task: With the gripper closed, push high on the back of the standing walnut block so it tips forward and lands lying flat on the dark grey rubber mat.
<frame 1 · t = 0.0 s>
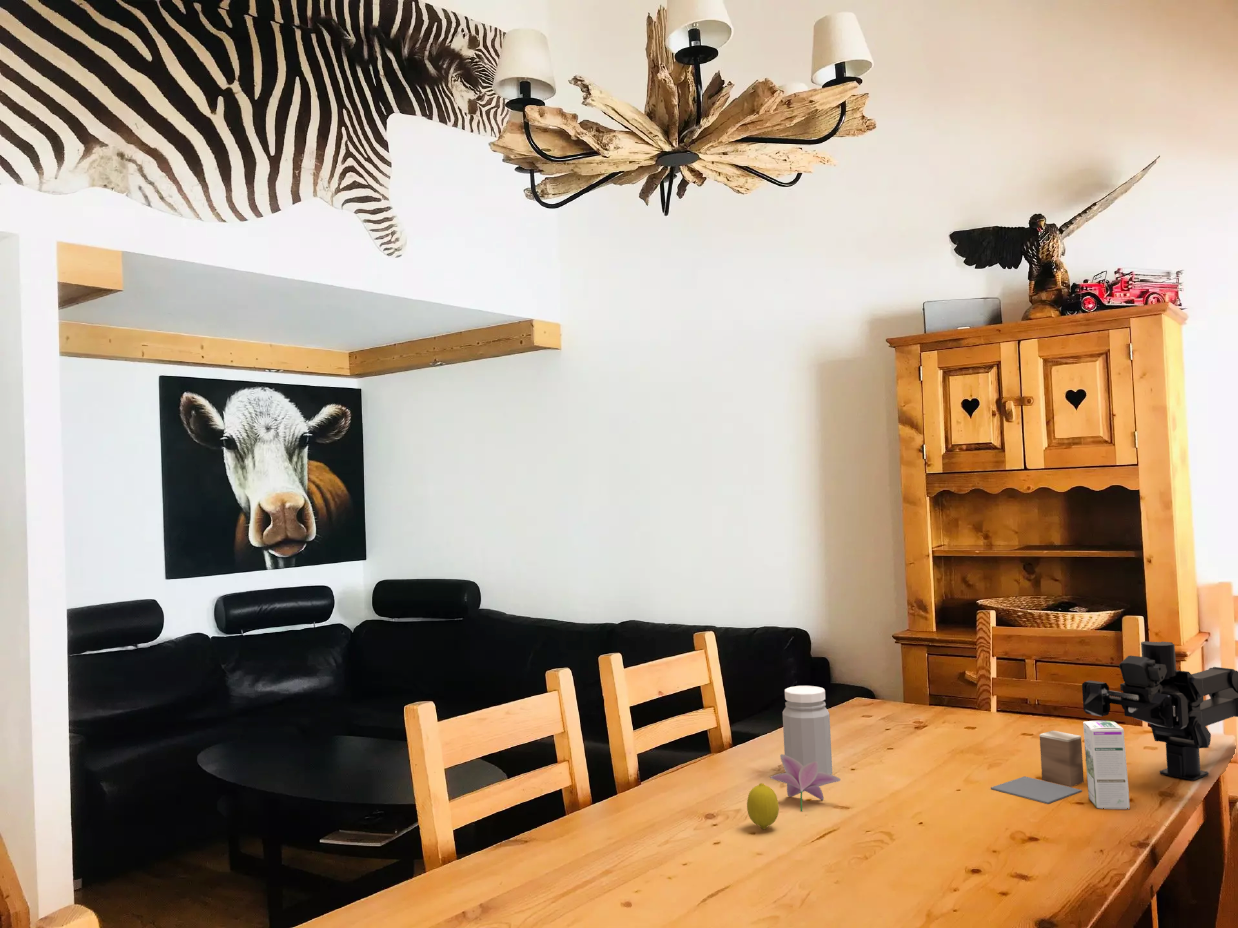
hand: (1108, 710, 177), 17 cm above the table, tool horizontal, fingers open, 9 cm apart
jar: (808, 777, 199), on the table
syrup box: (1108, 805, 175), on the table
rubber mat: (1035, 790, 185), on the table
lemon: (763, 830, 170), on the table
lily: (805, 805, 182), on the table
walnut block: (1062, 781, 190), on the table
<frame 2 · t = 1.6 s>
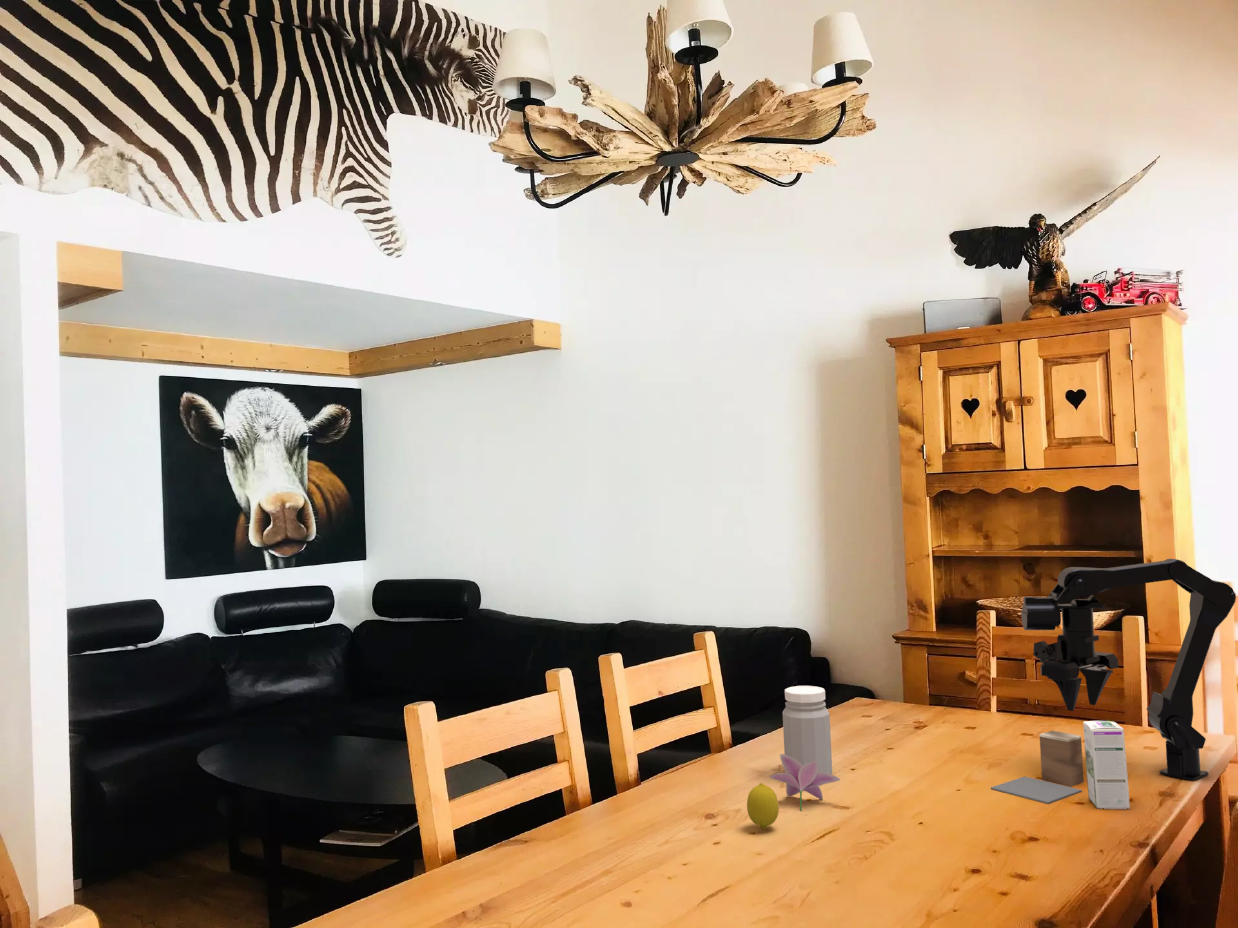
hand: (1081, 707, 194), 13 cm above the table, tool pointing down, fingers open, 8 cm apart
nothing on the table moved.
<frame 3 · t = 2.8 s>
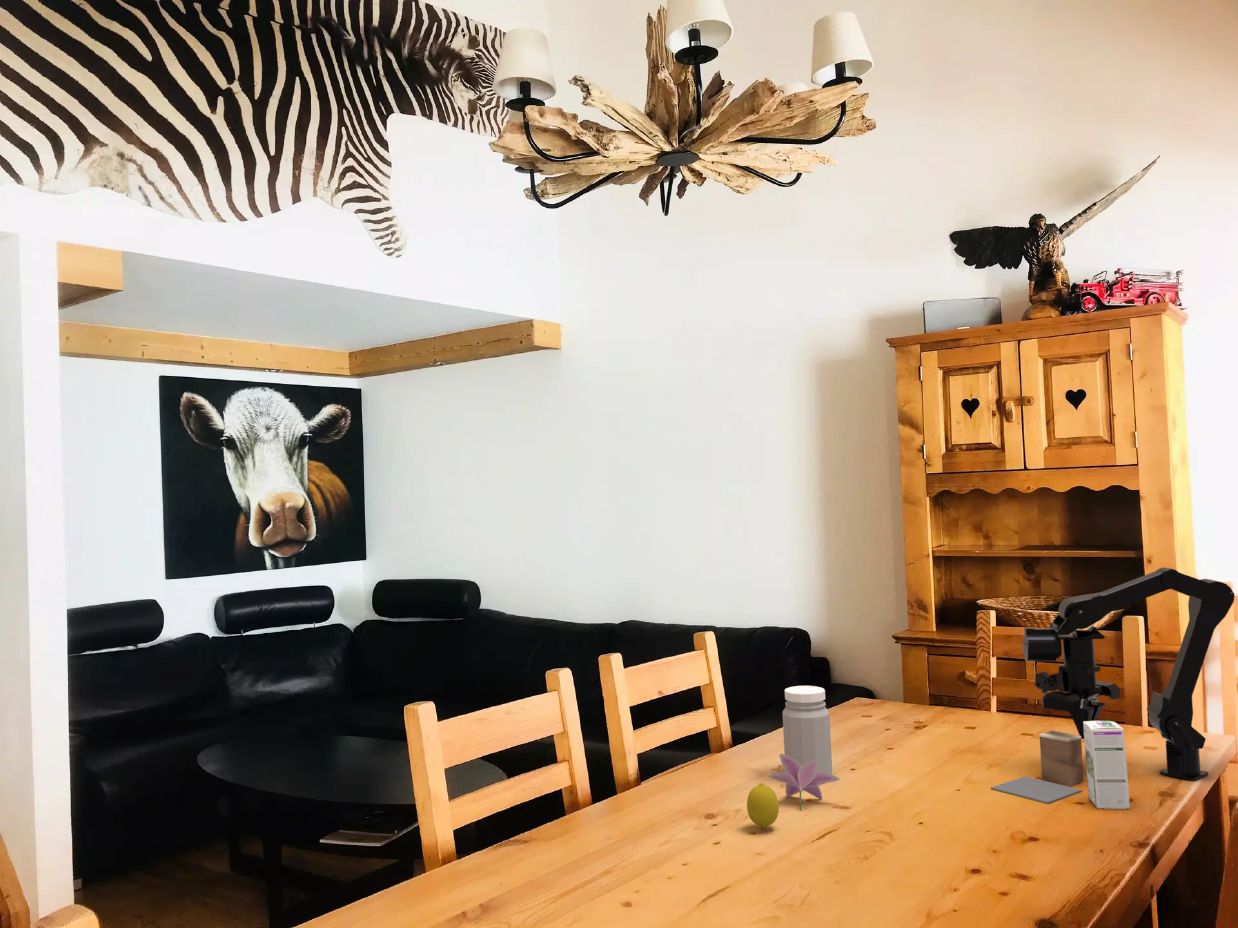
hand: (1084, 738, 194), 7 cm above the table, tool pointing down, fingers closed
nothing on the table moved.
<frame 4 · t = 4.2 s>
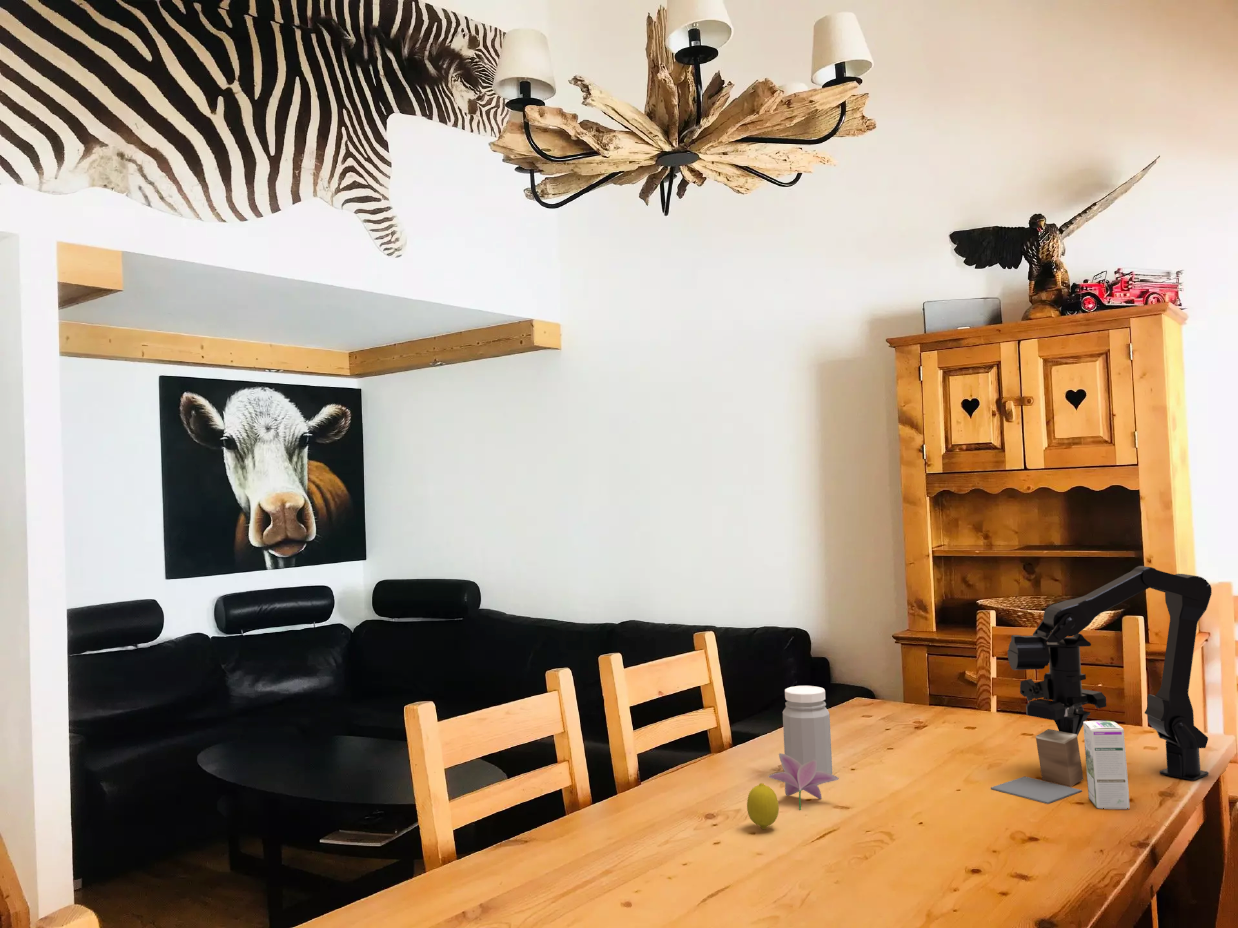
hand: (1068, 747, 192), 6 cm above the table, tool pointing down, fingers closed
walnut block: (1062, 779, 190), on the table, tilted 9°
everything else where it was.
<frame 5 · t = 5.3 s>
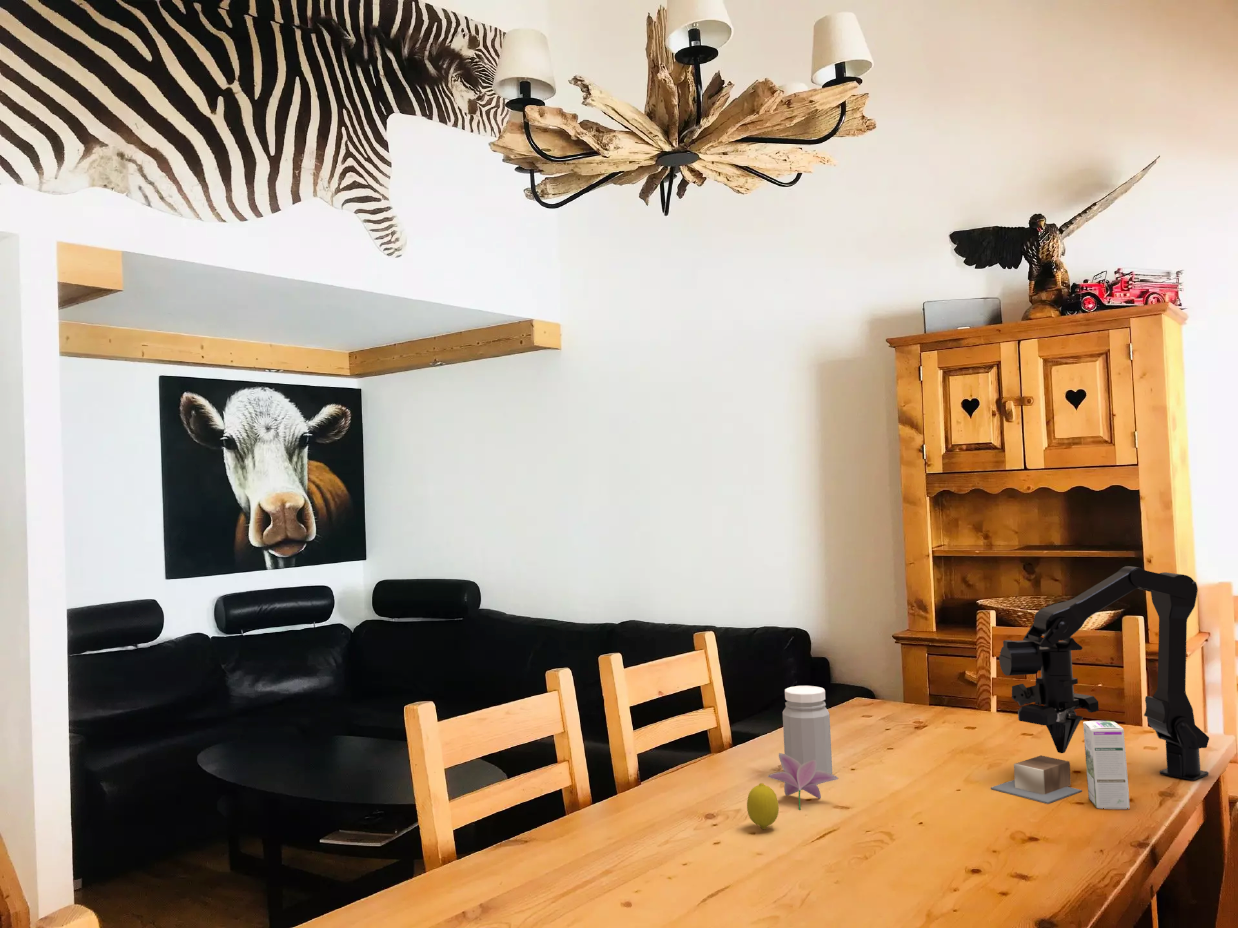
hand: (1061, 752, 190), 6 cm above the table, tool pointing down, fingers closed
walnut block: (1055, 769, 189), point 3 cm above the table, tilted 90°, touching rubber mat
everything else where it was.
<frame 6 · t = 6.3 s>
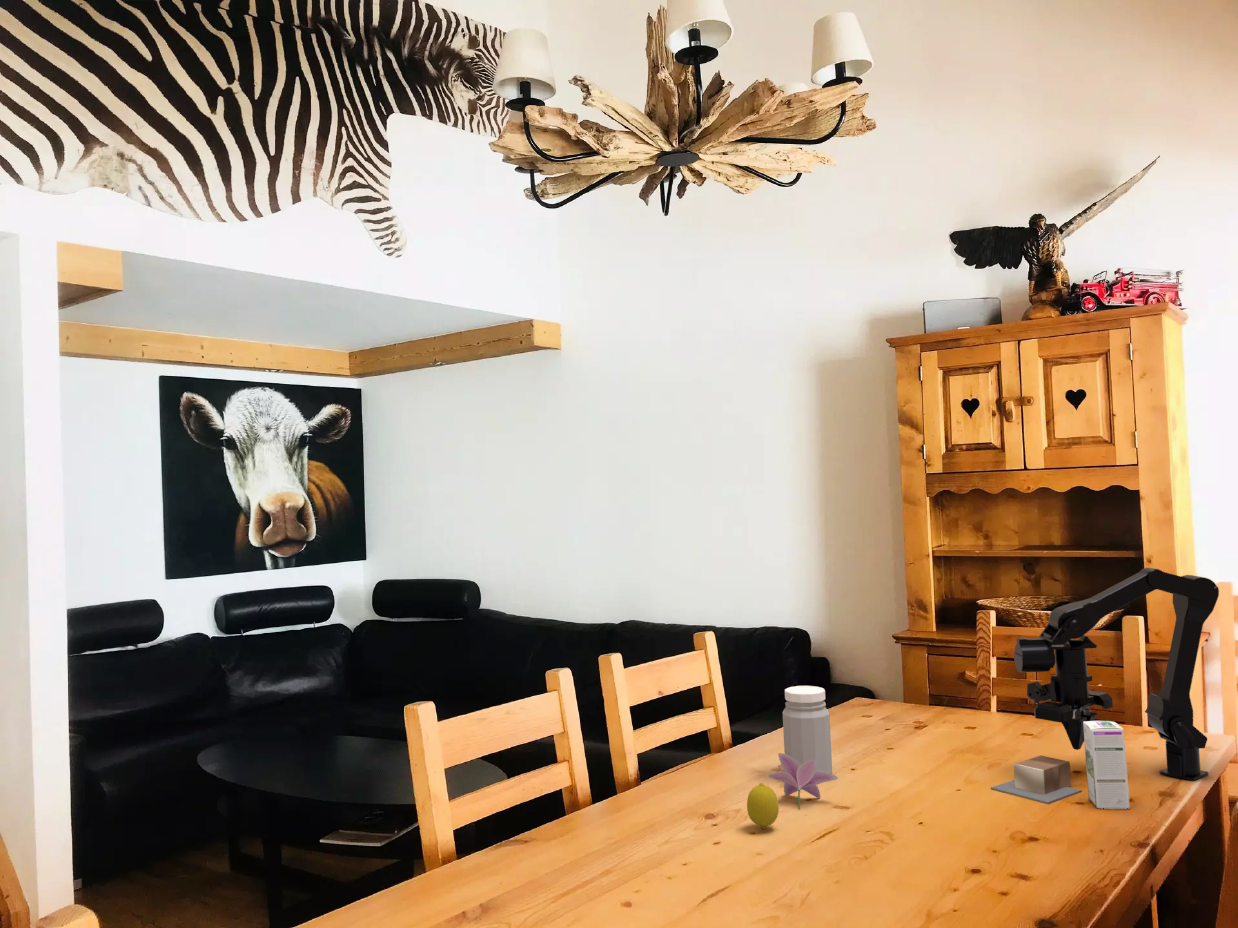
hand: (1076, 749, 193), 5 cm above the table, tool pointing down, fingers closed
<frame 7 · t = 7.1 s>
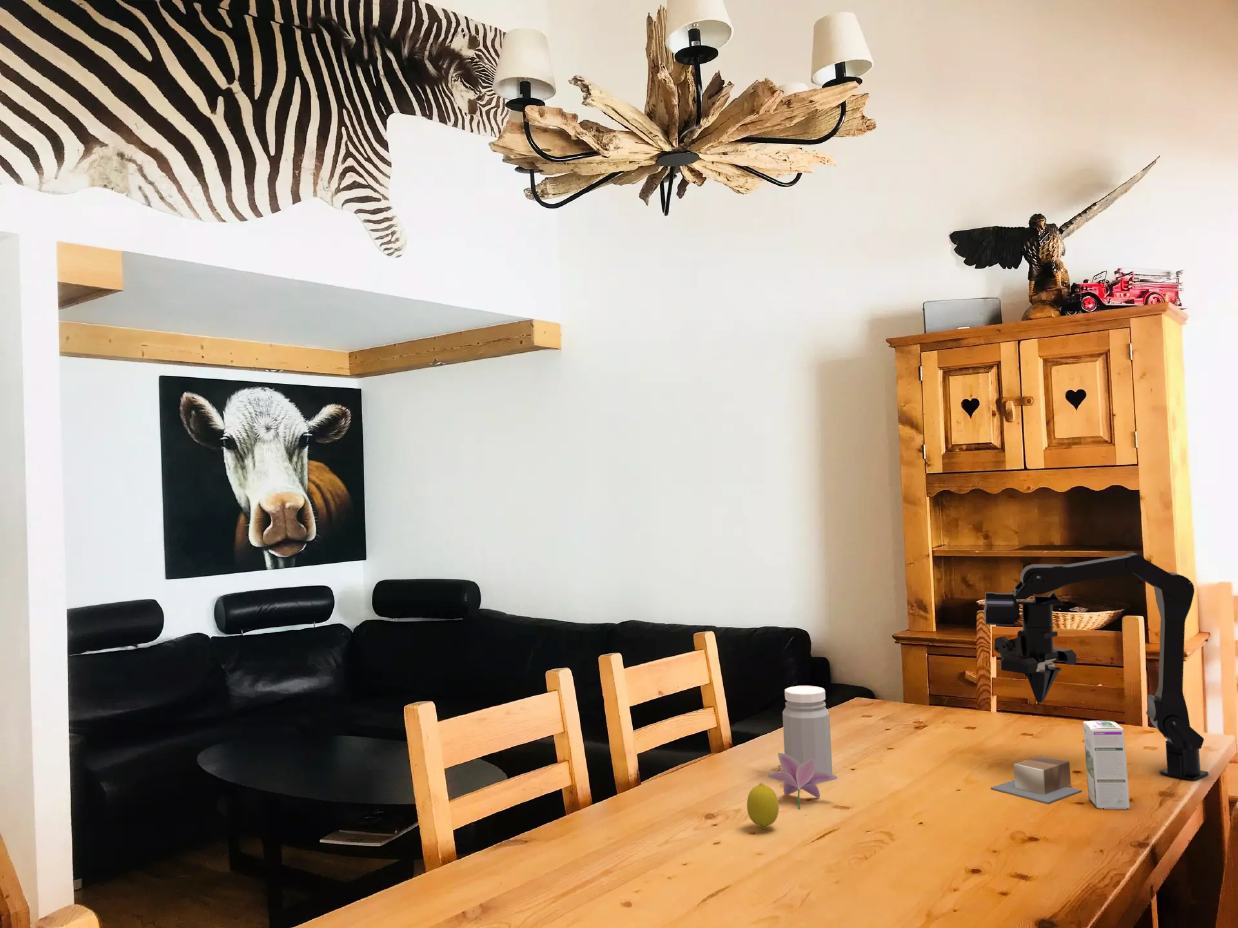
hand: (1039, 702, 198), 14 cm above the table, tool pointing down, fingers closed
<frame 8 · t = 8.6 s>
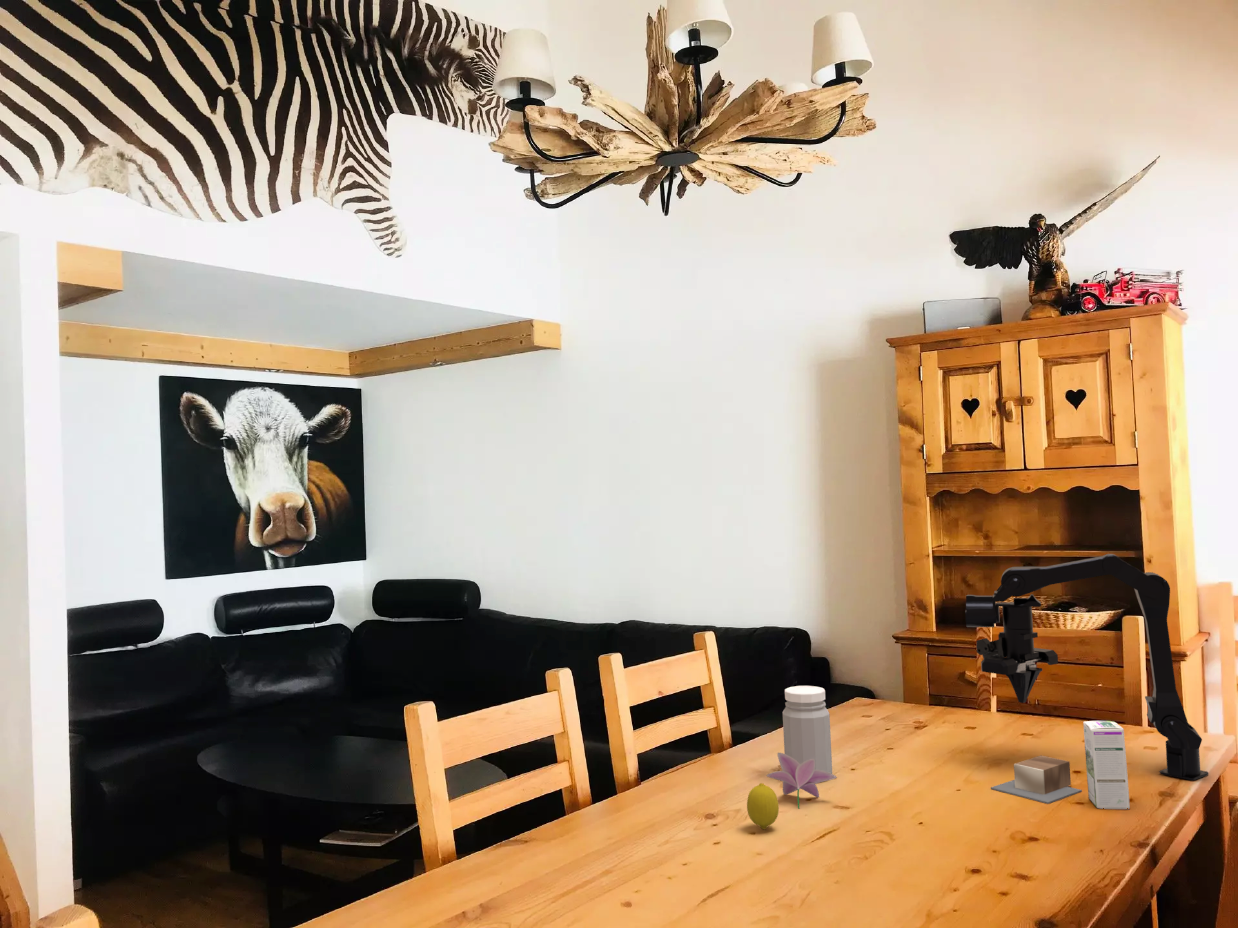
hand: (1022, 702, 202), 13 cm above the table, tool pointing down, fingers closed
at the end: walnut block tilted 90°; walnut block inside the target area (4.8 cm from its centre), point 2.5 cm above the table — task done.
